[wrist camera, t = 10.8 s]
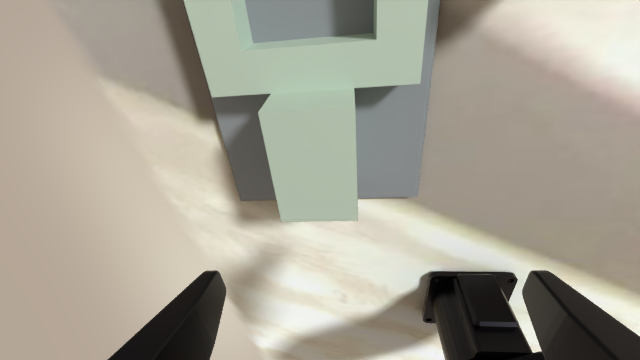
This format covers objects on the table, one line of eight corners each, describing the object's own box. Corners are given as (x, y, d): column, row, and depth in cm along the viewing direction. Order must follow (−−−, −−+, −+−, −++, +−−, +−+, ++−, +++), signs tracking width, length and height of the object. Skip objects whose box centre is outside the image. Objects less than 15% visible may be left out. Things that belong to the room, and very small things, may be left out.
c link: (404, 171, 19) (418, 219, 15) (249, 176, 20) (226, 222, 16) (437, -242, 10) (491, -376, 6) (154, -189, 11) (54, -276, 7)
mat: (415, 192, 20) (417, 197, 20) (242, 196, 21) (240, 200, 21) (476, -344, 9) (482, -360, 9) (112, -266, 10) (102, -276, 10)
